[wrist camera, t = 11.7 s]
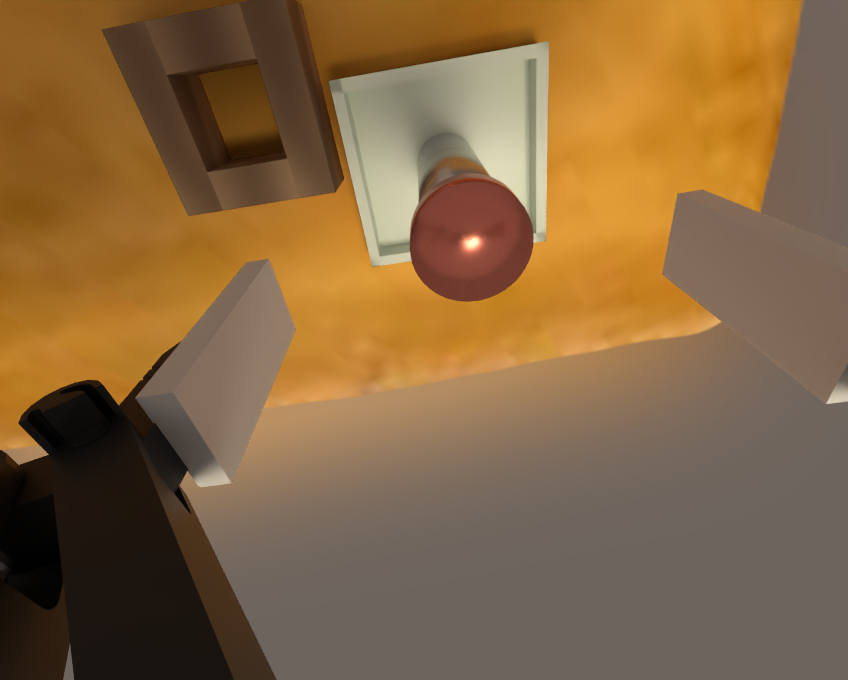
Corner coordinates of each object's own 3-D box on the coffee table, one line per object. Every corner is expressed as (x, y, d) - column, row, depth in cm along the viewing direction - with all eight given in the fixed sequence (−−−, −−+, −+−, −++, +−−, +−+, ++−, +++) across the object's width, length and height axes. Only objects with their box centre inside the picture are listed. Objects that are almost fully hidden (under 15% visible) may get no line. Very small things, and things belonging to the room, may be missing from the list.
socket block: (213, 200, 31) (188, 216, 27) (143, 35, 25) (101, 29, 22) (344, 178, 30) (335, 192, 27) (301, 4, 24) (283, -7, 21)
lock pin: (417, 203, 30) (420, 308, 17) (406, 132, 28) (399, 194, 15) (482, 193, 30) (533, 292, 17) (477, 120, 27) (533, 172, 14)
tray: (375, 253, 33) (372, 266, 31) (335, 80, 27) (328, 80, 24) (536, 229, 32) (545, 240, 30) (537, 43, 26) (548, 41, 24)
